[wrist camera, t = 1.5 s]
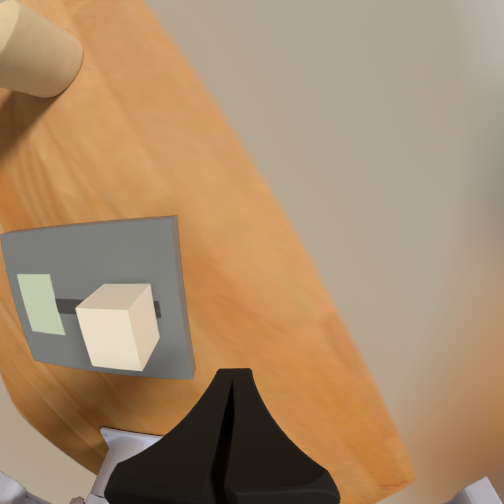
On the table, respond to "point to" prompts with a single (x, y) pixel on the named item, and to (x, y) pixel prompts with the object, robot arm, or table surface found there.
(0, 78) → the candle
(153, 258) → the slider board
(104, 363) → the knob
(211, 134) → the table surface
